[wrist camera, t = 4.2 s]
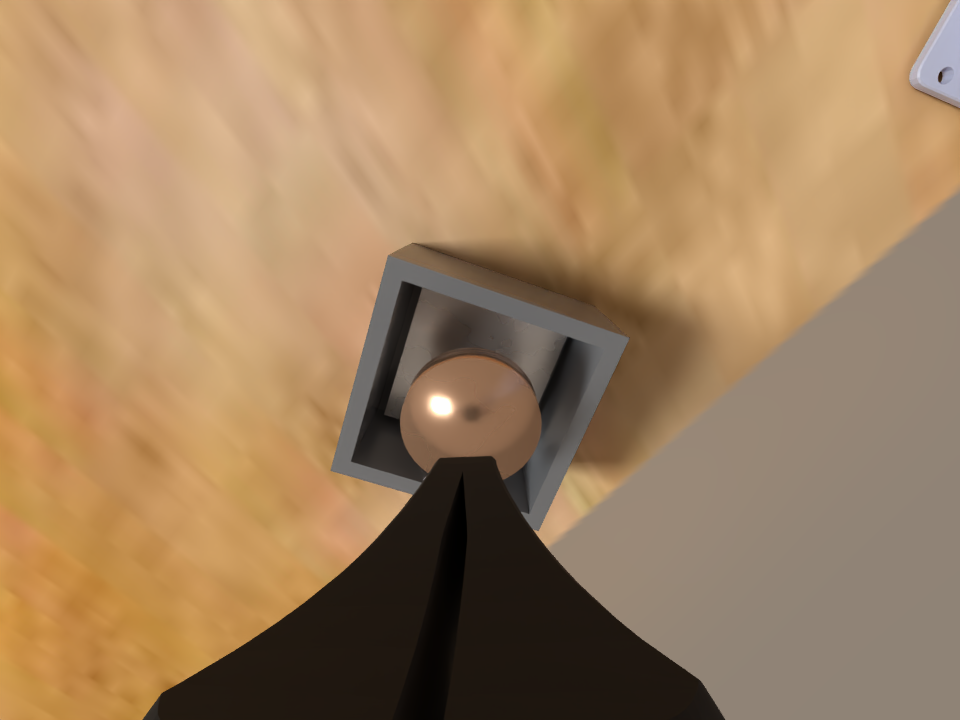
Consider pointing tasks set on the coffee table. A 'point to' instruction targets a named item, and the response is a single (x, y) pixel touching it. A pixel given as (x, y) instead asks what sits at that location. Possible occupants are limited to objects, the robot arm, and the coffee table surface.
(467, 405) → the plunger
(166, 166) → the coffee table surface
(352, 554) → the coffee table surface
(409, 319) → the open grey square tray
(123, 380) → the coffee table surface
